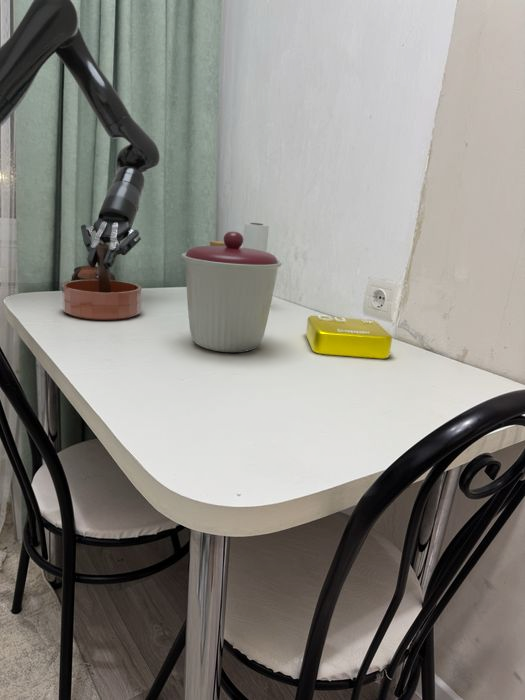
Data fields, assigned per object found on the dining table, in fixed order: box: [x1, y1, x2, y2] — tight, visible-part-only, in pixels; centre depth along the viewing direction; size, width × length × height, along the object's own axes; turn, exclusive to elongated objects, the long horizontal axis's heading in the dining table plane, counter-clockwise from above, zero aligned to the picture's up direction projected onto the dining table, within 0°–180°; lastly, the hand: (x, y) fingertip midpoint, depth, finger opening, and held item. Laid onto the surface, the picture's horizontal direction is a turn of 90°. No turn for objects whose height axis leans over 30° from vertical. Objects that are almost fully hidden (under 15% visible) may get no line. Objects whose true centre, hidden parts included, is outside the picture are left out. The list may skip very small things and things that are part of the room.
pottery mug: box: [70, 265, 116, 281], centre depth 131 cm, size 12×10×8 cm
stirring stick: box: [96, 243, 111, 292], centre depth 111 cm, size 5×5×14 cm
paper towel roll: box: [242, 222, 270, 252], centre depth 130 cm, size 7×6×21 cm
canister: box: [180, 231, 283, 353], centre depth 93 cm, size 18×18×21 cm
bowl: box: [61, 280, 142, 321], centre depth 112 cm, size 16×16×6 cm
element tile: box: [305, 314, 393, 360], centre depth 102 cm, size 15×15×5 cm
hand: (98, 265), depth 107 cm, fingers closed on stirring stick, 2 cm apart
